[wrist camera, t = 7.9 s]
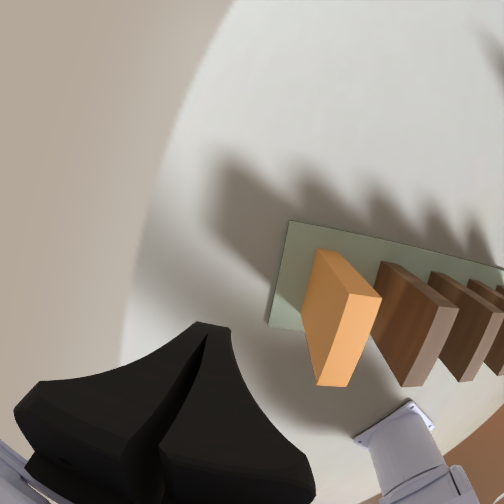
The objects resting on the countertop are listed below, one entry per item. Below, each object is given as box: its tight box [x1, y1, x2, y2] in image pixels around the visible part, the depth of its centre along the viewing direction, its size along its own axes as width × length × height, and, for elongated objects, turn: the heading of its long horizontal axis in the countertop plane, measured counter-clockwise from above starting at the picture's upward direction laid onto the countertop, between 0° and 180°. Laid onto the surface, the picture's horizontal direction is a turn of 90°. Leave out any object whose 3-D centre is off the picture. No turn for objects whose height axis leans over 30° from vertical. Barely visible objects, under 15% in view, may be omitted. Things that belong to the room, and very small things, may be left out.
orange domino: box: [300, 248, 382, 387], centre depth 15 cm, size 2×5×8 cm, turn 170°
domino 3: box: [467, 279, 504, 376], centre depth 15 cm, size 2×5×8 cm, turn 170°
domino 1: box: [370, 261, 459, 387], centre depth 15 cm, size 2×5×8 cm, turn 170°
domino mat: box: [268, 220, 504, 339], centre depth 19 cm, size 34×8×1 cm, turn 80°
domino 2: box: [427, 271, 504, 382], centre depth 15 cm, size 2×5×8 cm, turn 170°
